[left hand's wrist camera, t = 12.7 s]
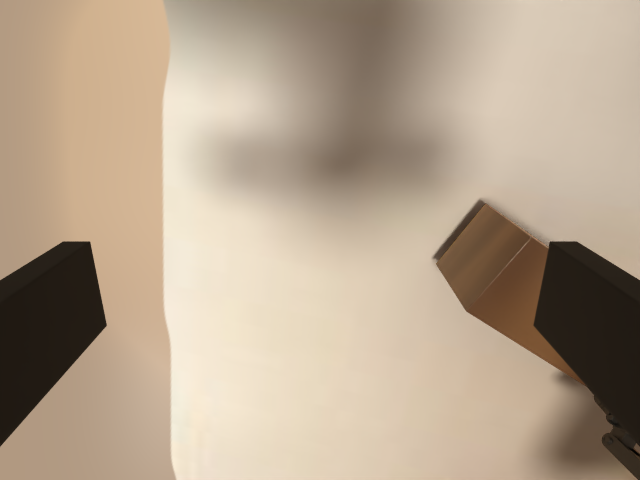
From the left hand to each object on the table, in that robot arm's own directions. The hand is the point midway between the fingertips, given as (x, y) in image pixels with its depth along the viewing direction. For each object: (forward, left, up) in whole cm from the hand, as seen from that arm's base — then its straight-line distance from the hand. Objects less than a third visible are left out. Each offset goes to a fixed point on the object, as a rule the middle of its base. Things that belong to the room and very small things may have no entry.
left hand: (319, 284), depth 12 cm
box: (+14, +23, -26) cm, 37 cm away
